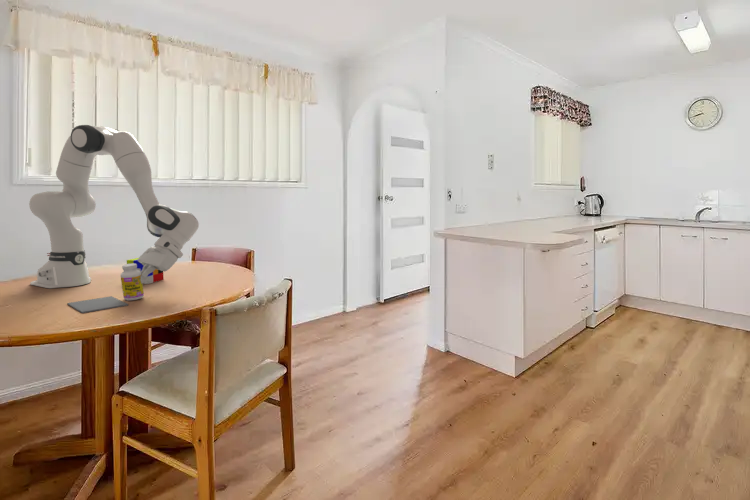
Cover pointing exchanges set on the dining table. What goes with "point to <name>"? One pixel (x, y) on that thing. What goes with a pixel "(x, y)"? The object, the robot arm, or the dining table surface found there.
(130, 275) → the supplement bottle
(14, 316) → the dining table surface
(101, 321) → the dining table surface
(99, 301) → the mat
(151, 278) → the puzzle toy
